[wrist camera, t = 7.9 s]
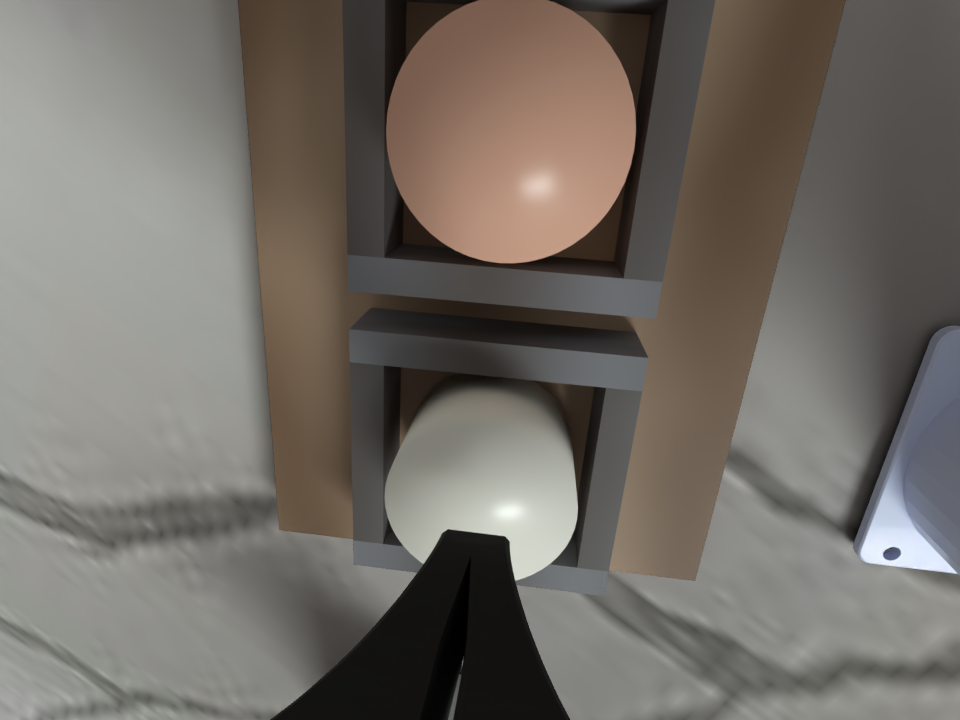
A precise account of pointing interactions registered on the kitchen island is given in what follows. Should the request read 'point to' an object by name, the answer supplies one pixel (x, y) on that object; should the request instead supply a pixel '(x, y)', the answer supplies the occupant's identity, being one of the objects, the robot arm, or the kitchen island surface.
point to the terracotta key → (511, 129)
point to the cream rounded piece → (486, 470)
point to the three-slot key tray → (527, 269)
